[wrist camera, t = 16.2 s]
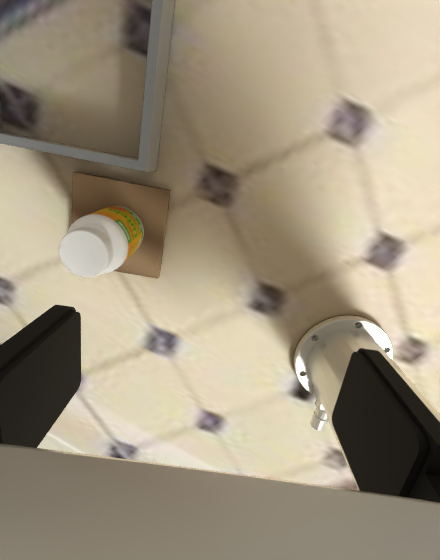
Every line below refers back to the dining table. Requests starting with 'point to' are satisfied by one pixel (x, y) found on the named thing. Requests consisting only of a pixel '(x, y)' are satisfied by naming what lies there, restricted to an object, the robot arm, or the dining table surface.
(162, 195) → the walnut board
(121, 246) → the supplement bottle
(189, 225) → the dining table surface
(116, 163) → the bin
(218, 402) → the dining table surface
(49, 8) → the dining table surface
